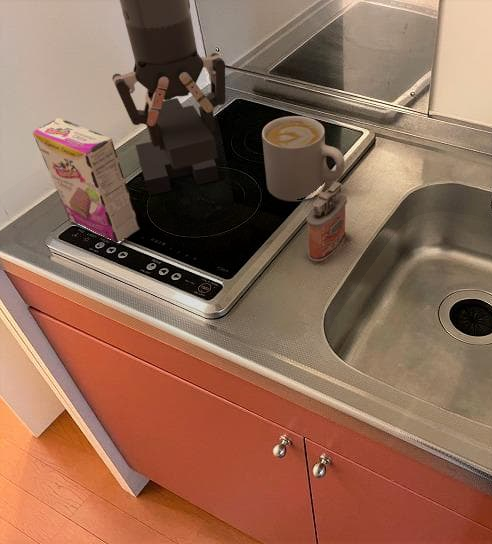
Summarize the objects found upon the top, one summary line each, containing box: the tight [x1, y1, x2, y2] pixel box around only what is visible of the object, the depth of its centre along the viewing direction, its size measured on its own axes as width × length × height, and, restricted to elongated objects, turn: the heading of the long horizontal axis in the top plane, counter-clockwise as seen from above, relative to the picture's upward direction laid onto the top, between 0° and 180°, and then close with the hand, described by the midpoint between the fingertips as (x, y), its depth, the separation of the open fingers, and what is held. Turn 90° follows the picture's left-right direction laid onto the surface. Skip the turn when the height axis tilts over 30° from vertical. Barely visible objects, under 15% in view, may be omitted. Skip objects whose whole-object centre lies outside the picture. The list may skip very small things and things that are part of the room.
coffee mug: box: [261, 115, 346, 202], centre depth 93 cm, size 13×10×10 cm
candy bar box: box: [32, 117, 141, 246], centre depth 84 cm, size 11×5×16 cm, turn 58°
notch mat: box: [135, 141, 220, 196], centre depth 100 cm, size 12×12×3 cm
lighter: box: [306, 181, 348, 266], centre depth 82 cm, size 8×3×10 cm, turn 147°
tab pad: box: [157, 97, 219, 170], centre depth 78 cm, size 6×13×3 cm, turn 25°
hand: (184, 140), depth 78 cm, fingers closed on tab pad, 6 cm apart
